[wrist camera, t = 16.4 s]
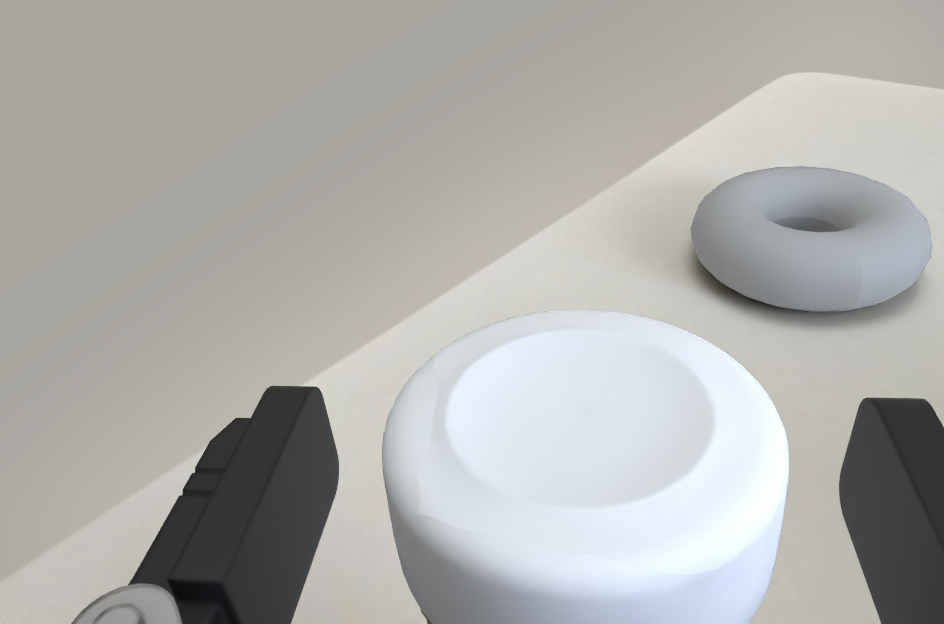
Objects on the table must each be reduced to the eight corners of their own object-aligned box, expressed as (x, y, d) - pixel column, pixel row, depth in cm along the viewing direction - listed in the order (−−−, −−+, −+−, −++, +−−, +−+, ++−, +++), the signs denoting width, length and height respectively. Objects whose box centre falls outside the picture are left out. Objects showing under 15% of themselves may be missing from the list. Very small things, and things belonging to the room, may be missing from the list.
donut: (806, 202, 40) (646, 245, 38) (819, 140, 38) (651, 181, 36) (974, 290, 33) (787, 354, 30) (1000, 218, 31) (803, 279, 28)
